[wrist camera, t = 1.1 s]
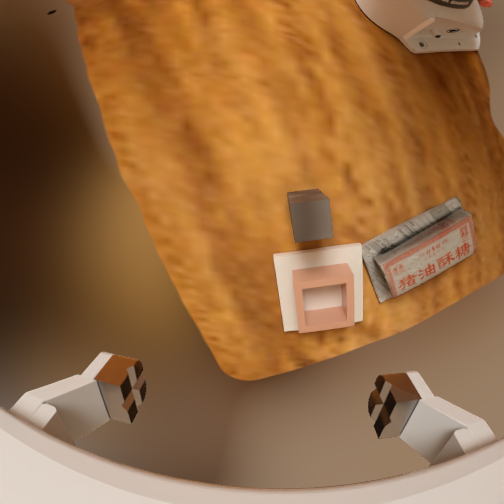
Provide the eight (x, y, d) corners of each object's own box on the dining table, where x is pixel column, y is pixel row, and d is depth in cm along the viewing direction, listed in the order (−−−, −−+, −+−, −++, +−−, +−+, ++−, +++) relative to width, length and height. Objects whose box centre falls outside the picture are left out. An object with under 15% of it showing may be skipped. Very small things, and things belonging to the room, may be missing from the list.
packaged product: (472, 199, 29) (483, 260, 32) (454, 193, 34) (467, 249, 36) (365, 256, 34) (386, 316, 36) (355, 244, 38) (377, 300, 41)
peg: (317, 188, 36) (329, 199, 27) (321, 218, 37) (333, 237, 29) (287, 192, 36) (289, 204, 28) (291, 222, 38) (294, 242, 29)
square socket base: (359, 242, 37) (370, 255, 33) (360, 316, 41) (369, 335, 36) (273, 253, 39) (272, 268, 34) (284, 327, 43) (284, 347, 38)
